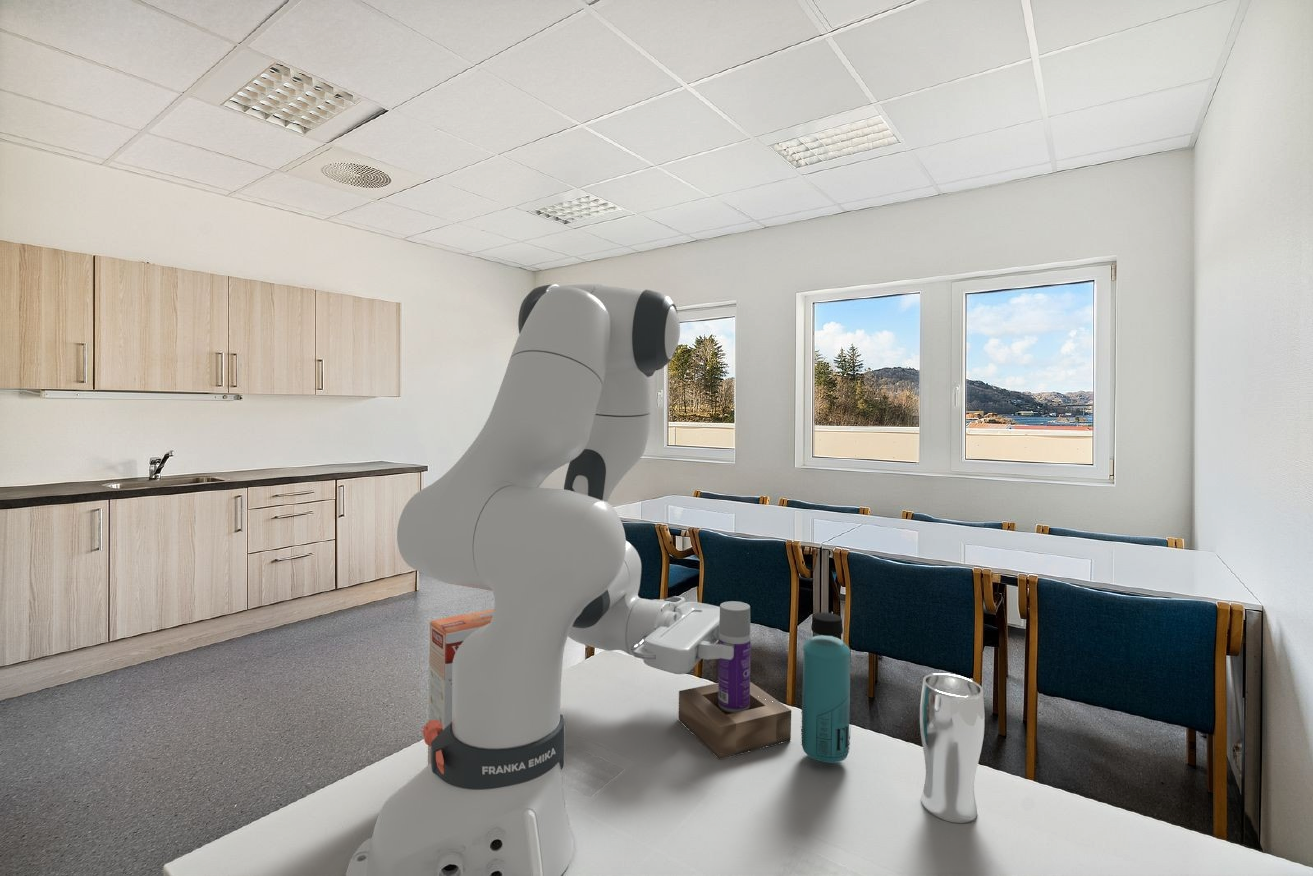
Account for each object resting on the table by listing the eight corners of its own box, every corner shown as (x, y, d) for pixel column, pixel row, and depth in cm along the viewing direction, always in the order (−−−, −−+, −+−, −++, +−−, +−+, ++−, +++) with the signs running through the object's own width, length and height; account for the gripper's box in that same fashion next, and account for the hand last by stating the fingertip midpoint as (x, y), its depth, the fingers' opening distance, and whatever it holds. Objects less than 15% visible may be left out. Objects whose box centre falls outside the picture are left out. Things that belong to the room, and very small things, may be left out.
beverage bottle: (839, 780, 79) (843, 627, 78) (791, 762, 83) (794, 616, 82) (856, 758, 84) (860, 614, 83) (810, 742, 88) (814, 604, 87)
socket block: (719, 759, 83) (720, 727, 83) (678, 719, 94) (678, 691, 94) (790, 741, 88) (791, 710, 88) (744, 705, 99) (744, 677, 99)
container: (749, 714, 89) (750, 611, 88) (716, 711, 89) (717, 609, 89) (750, 699, 93) (751, 602, 93) (719, 696, 94) (720, 600, 93)
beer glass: (920, 819, 71) (924, 692, 71) (914, 785, 78) (917, 669, 78) (987, 831, 69) (991, 701, 69) (974, 795, 76) (978, 676, 76)
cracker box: (444, 808, 72) (444, 632, 71) (426, 784, 77) (426, 619, 76) (549, 767, 81) (550, 610, 80) (527, 747, 86) (529, 599, 85)
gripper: (625, 631, 87) (718, 648, 81) (680, 593, 105) (758, 605, 100) (624, 675, 87) (717, 695, 81) (679, 629, 106) (757, 643, 100)
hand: (740, 645), depth 91 cm, fingers closed on container, 5 cm apart
